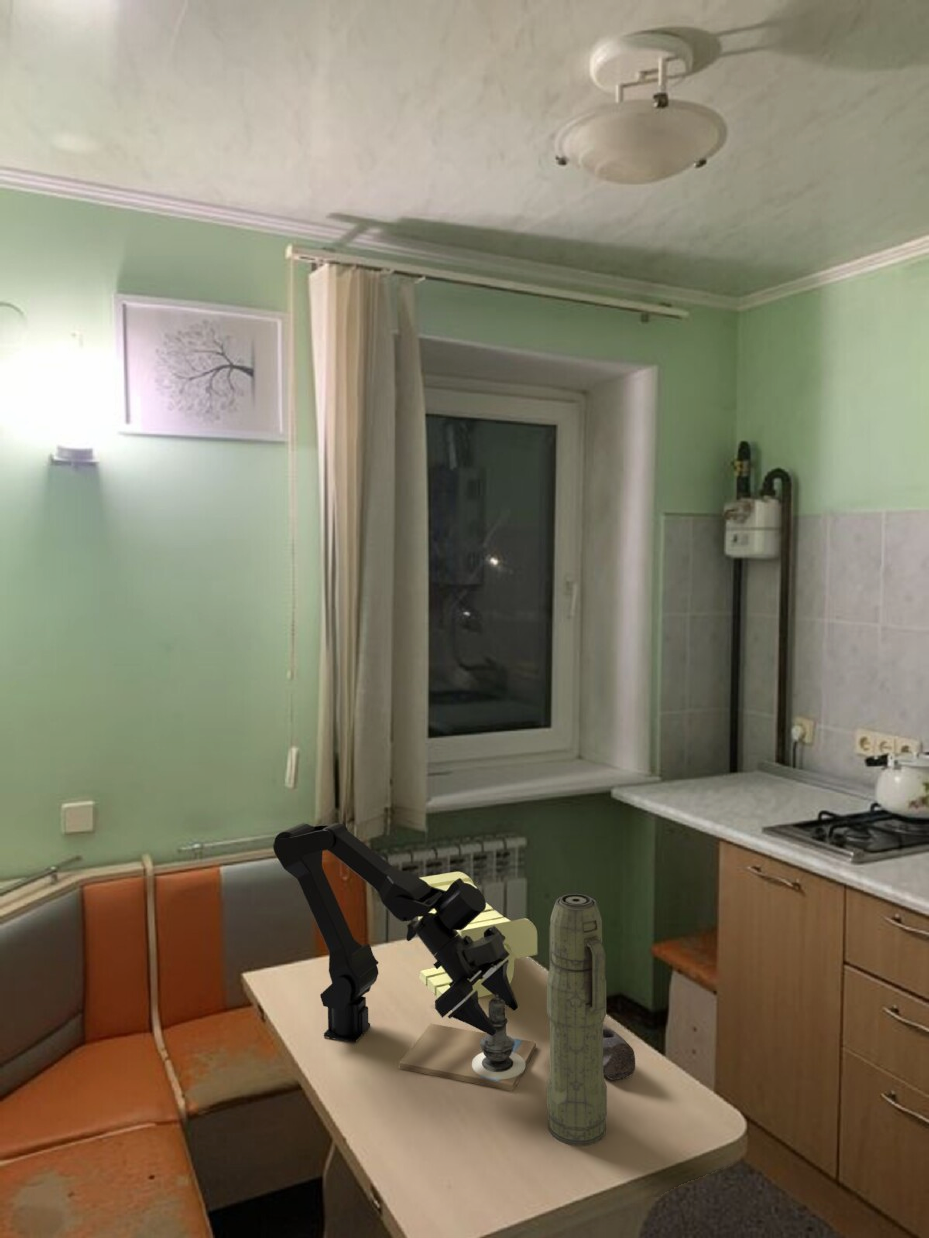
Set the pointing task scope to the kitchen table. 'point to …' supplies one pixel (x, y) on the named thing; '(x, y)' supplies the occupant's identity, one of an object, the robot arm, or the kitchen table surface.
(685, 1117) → the kitchen table surface
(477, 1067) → the board
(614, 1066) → the perforated stone tool
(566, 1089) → the thermos
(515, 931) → the slatted curved stool
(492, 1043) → the dark grey chess piece
